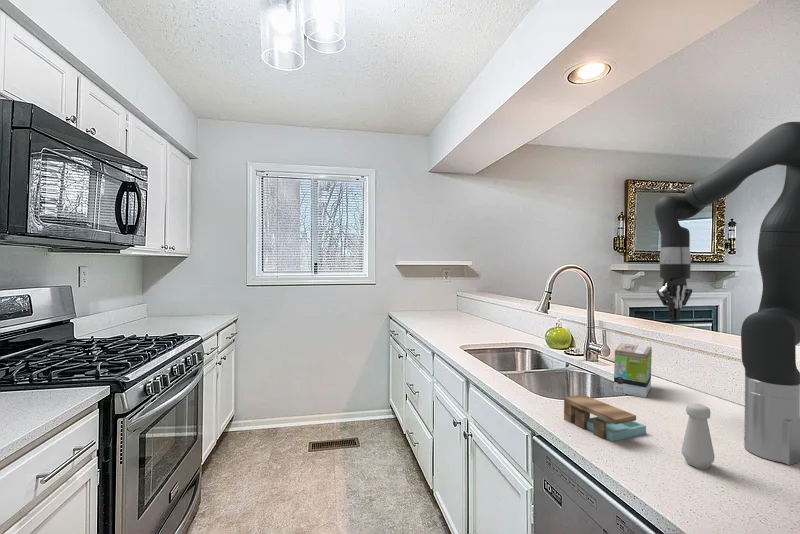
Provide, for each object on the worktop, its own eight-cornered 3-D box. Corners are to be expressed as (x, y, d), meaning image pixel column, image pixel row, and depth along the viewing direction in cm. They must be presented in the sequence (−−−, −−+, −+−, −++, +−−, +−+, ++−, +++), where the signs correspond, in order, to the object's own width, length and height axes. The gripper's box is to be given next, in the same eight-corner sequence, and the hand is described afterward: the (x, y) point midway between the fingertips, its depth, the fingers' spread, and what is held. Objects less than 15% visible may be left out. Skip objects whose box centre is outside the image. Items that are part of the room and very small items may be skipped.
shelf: (636, 440, 96) (636, 415, 96) (615, 445, 93) (615, 419, 93) (582, 415, 111) (582, 394, 111) (564, 419, 109) (564, 397, 109)
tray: (646, 435, 100) (646, 425, 100) (612, 442, 96) (612, 433, 95) (615, 421, 108) (615, 413, 108) (582, 428, 104) (582, 419, 104)
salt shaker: (682, 455, 89) (682, 398, 88) (714, 463, 85) (715, 404, 85) (680, 465, 84) (681, 406, 84) (714, 474, 80) (714, 412, 80)
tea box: (647, 398, 126) (648, 353, 125) (612, 392, 132) (613, 349, 132) (651, 387, 138) (651, 345, 137) (619, 381, 144) (619, 342, 144)
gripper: (672, 262, 109) (672, 323, 110) (702, 262, 114) (702, 321, 114) (647, 262, 116) (646, 319, 117) (676, 262, 121) (676, 317, 121)
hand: (674, 320), depth 115 cm, fingers closed
